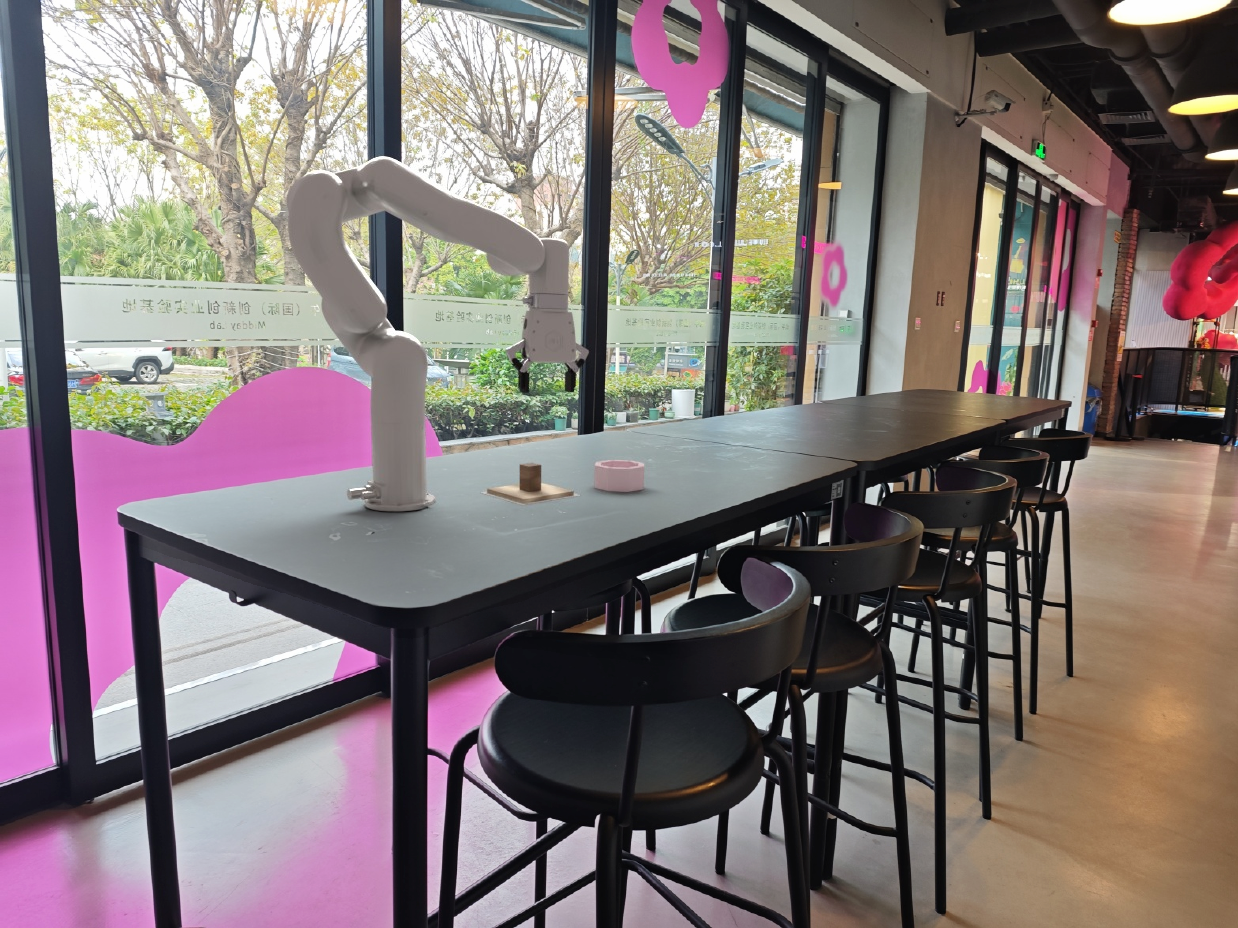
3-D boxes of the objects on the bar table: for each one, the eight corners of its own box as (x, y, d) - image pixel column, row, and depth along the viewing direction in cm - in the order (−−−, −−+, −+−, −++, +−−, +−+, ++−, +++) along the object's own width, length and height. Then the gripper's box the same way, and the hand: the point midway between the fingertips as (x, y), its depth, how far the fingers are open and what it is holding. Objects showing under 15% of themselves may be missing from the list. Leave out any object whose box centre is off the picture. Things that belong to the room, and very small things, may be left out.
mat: (522, 507, 153) (522, 505, 153) (479, 494, 163) (479, 492, 163) (580, 497, 163) (581, 495, 163) (537, 485, 173) (537, 483, 173)
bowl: (617, 495, 165) (618, 470, 164) (584, 487, 172) (585, 463, 171) (653, 489, 172) (654, 465, 171) (620, 481, 179) (621, 458, 178)
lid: (523, 503, 154) (523, 472, 154) (487, 492, 163) (486, 463, 162) (573, 495, 163) (574, 465, 162) (536, 485, 171) (536, 457, 170)
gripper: (513, 302, 155) (512, 394, 158) (597, 305, 163) (594, 393, 166) (499, 302, 162) (499, 391, 165) (580, 306, 170) (578, 390, 173)
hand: (547, 392), depth 165 cm, fingers open, 9 cm apart
